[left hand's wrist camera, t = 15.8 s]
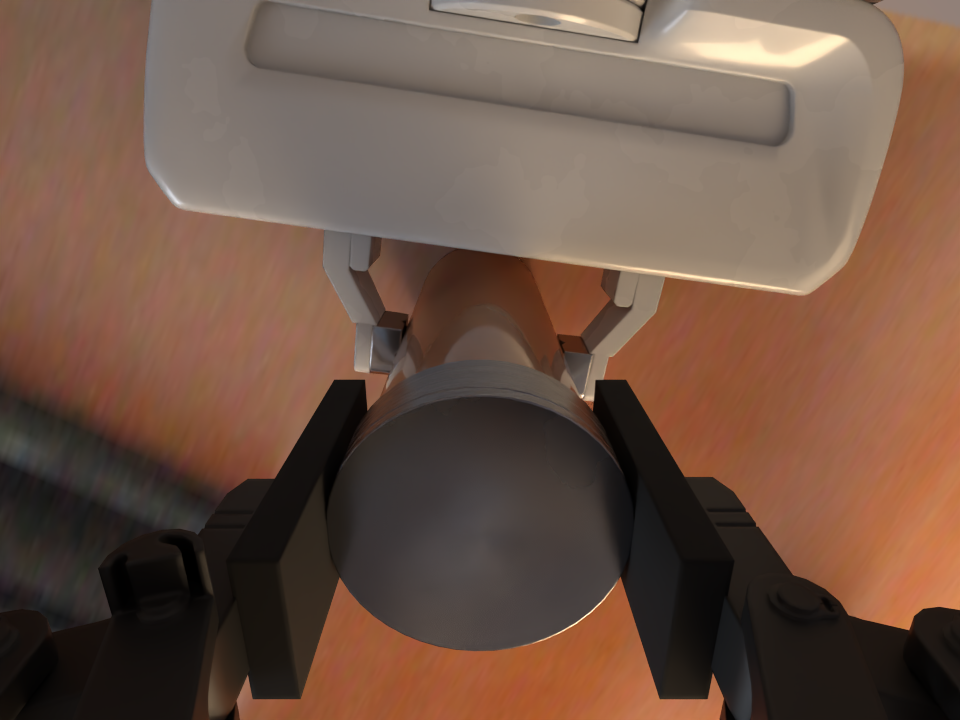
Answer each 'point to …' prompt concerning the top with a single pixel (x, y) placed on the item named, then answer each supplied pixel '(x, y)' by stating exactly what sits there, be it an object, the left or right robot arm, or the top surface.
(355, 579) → the lid
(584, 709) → the top surface
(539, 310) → the screw-top jar
